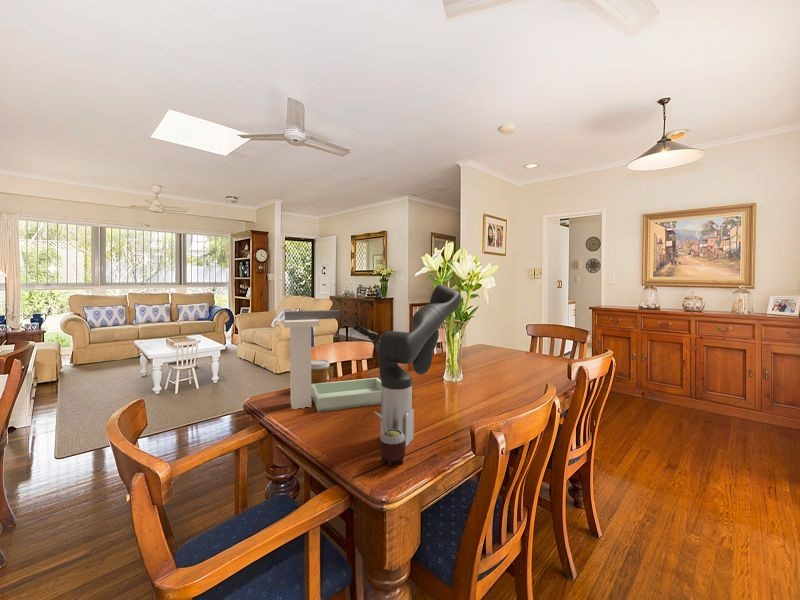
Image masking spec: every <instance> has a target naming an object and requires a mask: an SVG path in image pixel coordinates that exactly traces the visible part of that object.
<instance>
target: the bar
mask: <svg viewBox="0 0 800 600" xmlns="http://www.w3.org/2000/svg"><path fill="white" fill-rule="evenodd" d="M340 316H341V315H340V310H339V309H326V310H323V309H321V310H290V311H289V310H287V311H286V310H285V311H284V318H285V320H309V319H318V320H327V319H328V320H332V319H333V320H336V319H340V318H341V317H340Z"/></svg>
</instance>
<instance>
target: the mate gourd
mask: <svg viewBox="0 0 800 600" xmlns="http://www.w3.org/2000/svg"><path fill="white" fill-rule="evenodd" d="M373 413H374V414H375V415H376V416H378V417H379V419H380V422H381V421H382V423H383V426H384V429H385V431H384V432H383V434H382V435H381V434H380V437H379V450H380V455H381V459H380V461H381V462H387V463H388V464H387V465H386V468H387V467H389V468H388V469H390V468H391V467H392V466H393V464H396V463H397V465H402V464H403V463H405V462H404V457H405V455H406V448H407V447H406V441H405V436H404V434H403V433H402V432H401V431H400V430H397V429H388V430H387V429H386V426H385V423H384V419H383V417H382V416H381V413H378V412H376V411H373ZM391 465H392V466H391ZM403 465H404V464H403Z"/></svg>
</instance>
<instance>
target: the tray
mask: <svg viewBox="0 0 800 600" xmlns="http://www.w3.org/2000/svg"><path fill="white" fill-rule="evenodd" d="M311 396H312V397H311V400H312V402H313V401H314V402H313V403H315V404H314V406H316V407H315V409H316V411H318V412H317V413H322V412H321V411H323V412H329V410H331V411H339V410H345V409H346V408H347V409H353V407H354V408H361V407H360V406H362V407H368V406H369V405H370V406H375V405H377V406H378V405H381V378H380V377H371V378H370V377H369V378H361V379H360V378H359V379H351V380H341V381H329V382H328V381H327V383H317V384H311ZM338 409H339V410H338Z"/></svg>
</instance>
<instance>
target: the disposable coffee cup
mask: <svg viewBox="0 0 800 600" xmlns="http://www.w3.org/2000/svg"><path fill="white" fill-rule="evenodd" d="M330 366H331V364H330V361H329V360H326V359H313V360H312V359H311V384H317V383H327V382H328V375H329V368H330Z"/></svg>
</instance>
